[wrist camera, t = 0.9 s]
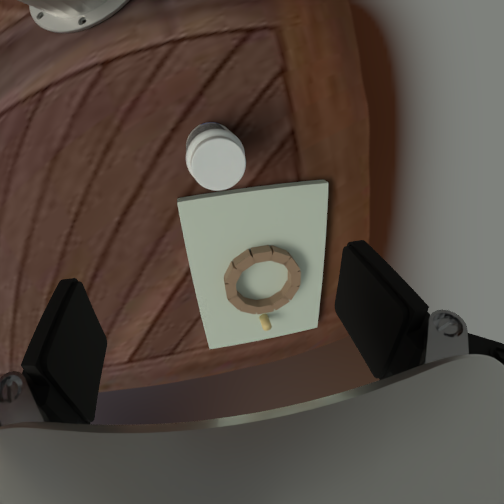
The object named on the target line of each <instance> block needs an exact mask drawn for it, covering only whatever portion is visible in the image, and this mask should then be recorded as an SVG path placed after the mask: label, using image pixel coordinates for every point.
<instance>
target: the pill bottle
mask: <svg viewBox="0 0 504 504" xmlns="http://www.w3.org/2000/svg"><path fill="white" fill-rule="evenodd" d="M186 164H187V167H188V169H189V171H190V173H191V175H192V176H193V177H194V178H195V179H196V181H197V182H198V183H199V184H200V185H202V186H203V187H205V188H207V189H210V190H216V191H219V190H225V189H228V188H230V187H232V186H234V185H235V184H236V183H237V182H238V181H239V180H240V179H241V178H242V176H243V174H244V171H245V168H246V159H245V151H244V148H243V145H242V143H241V141H240V140H239V139H238V137H237V136H236V135H234V134H233V133H232V132H231V131H230V130H229V129H227V128H226V127H225V126H223V125H221V124H218V123H214V122H208V123H204V124H201V125H199V126H197V127H196V128H195V129H194V130H193V131H192V132H191V133H190V135H189V137H188V139H187V143H186Z"/></svg>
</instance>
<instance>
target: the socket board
mask: <svg viewBox="0 0 504 504" xmlns="http://www.w3.org/2000/svg"><path fill="white" fill-rule="evenodd" d="M177 204H178V209H179V215H180V220H181V225H182V231H183V236H184V241H185V246H186V250H187V255H188V260H189V265H190V269H191V274H192V278H193V283H194V287H195V292H196V296H197V300H198V305H199V309H200V313H201V317H202V321H203V325H204V329H205V333H206V337H207V341H208V345H209V348H210V349H213V348H219V347H225V346H231V345H237V344H242V343H247V342H253V341H258V340H263V339H268V338H273V337H277V336H282V335H287V334H291V333H295V332H300V331H304V330H308V329H313V328H317V325H318V316H319V307H320V298H321V288H322V278H323V267H324V254H325V241H326V225H327V207H328V182H327V181H325V180H313V181H302V182H292V183H283V184H274V185H266V186H257V187H250V188H242V189H234V190H227V191H220V192H213V193H207V194H200V195H194V196H188V197H182V198H178V199H177Z"/></svg>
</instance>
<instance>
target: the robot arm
mask: <svg viewBox="0 0 504 504" xmlns="http://www.w3.org/2000/svg"><path fill="white" fill-rule="evenodd" d="M18 1H21V2H23V3H25V4H28V5H29V8H30V13H31V16H32V18H33V19H34V21H35V22H36V23H37V24H38V25H39V26H40V27H42V28H44V29H46V30H48V31H52V32H56V33H72V32H78V31H81V30H85V29H88V28H90V27H93V26H95V25H97V24H99V23H101V22H103V21H104V20H106V19H108V18H109V17H111V16H112V15H113V14H115V13H116V12H117V11H119V10H120V9H121V8H122V7H123V6H124V5H125V4H126V3H127V2H128V1H130V0H18ZM84 21H86V22H85V24H83V22H84ZM428 308H429V307H428V305H427V304H426V303H425V302H424V301H423V300H422V299H421V298H420V297H419V296H418V294H417V293H416V292H415V291H414V290H413V289H412V288H411V287H410V286H409V285H408V284H407V283H406V282H405V281H404V280H403V279H402V278H401V277H400V276H399V275H398V273H397V272H396V271H394V269H393V268H392V267H391V266H390V265H389V264H388V263H387V262H386V261H385V260H384V259H383V258H382V257H381V256H380V255H379V254H378V253H377V252H376V251H375V250H373V248H372V247H371V246H370V245H369V244H367V243H366V242H365V241H364V240H360V241H353V242H349V243H348V244H347V246H346V247H344V248H343V253H342V261H341V268H340V275H339V281H338V288H337V294H336V300H335V311H336V313H337V315H338V317H339V318H340V320H341V322H342V323H343V325H344V327H345V328H346V330H347V331H348V333H349V335H350V336H351V338H352V340H353V341H354V343H355V345H356V347H357V348H358V350H359V352H360V353H361V355H362V357H363V358H364V360H365V362H366V363H367V365H368V367H369V368H370V370H371V372H372V374H373V375H374V377H375V378H379V379H380V380H379V381H376V382H373V383H370V384H367V385H364V386H361V387H358V388H355V389H352V390H349V391H345V392H342V393H338V394H335V395H332V396H328V397H324V398H320V399H317V400H312V401H309V402H305V403H301V404H296V405H292V406H287V407H283V408H278V409H273V410H269V411H263V412H257V413H252V414H246V415H240V416H233V417H226V418H219V419H212V420H202V421H194V422H182V423H168V424H149V425H92V424H90V422H92V421H93V420H94V417H95V410H96V403H97V396H98V390H99V384H100V379H101V373H102V368H103V362H104V357H105V353H106V348H107V339H106V336H105V334H104V332H103V330H102V328H101V325H100V323H99V321H98V319H97V317H96V314H95V312H94V310H93V308H92V305H91V303H90V301H89V298H88V296H87V293H86V291H85V289H84V286H83V284H82V283H81V282H78V280H77V279H75V278H72V279H64V280H61V281H60V282H59V284H58V286H57V288H56V289H55V291H54V293H53V295H52V297H51V299H50V301H49V303H48V305H47V307H46V309H45V311H44V313H43V315H42V317H41V319H40V322H39V324H38V326H37V328H36V330H35V332H34V335H33V337H32V339H31V342H30V344H29V346H28V349H27V351H26V354H25V356H24V359H23V361H22V364H21V366H22V368H23V369H24V370H23V372H22V374H21V373H20V372H16V371H12V372H8V373H6V374H4V375H3V376H2V377H1V378H0V504H504V344H502V343H499V342H496V341H493V340H489V339H486V338H483V337H479V336H476V335H473V334H469V333H468V332H467V326H466V323H465V322H464V320H463V319H462V318H461V317H460V316H459V315H457V314H455V313H453V312H451V311H448V310H437V311H435V312H433V313H432V314H431V315H430V314H429V313H428V312H427V311H428Z"/></svg>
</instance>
